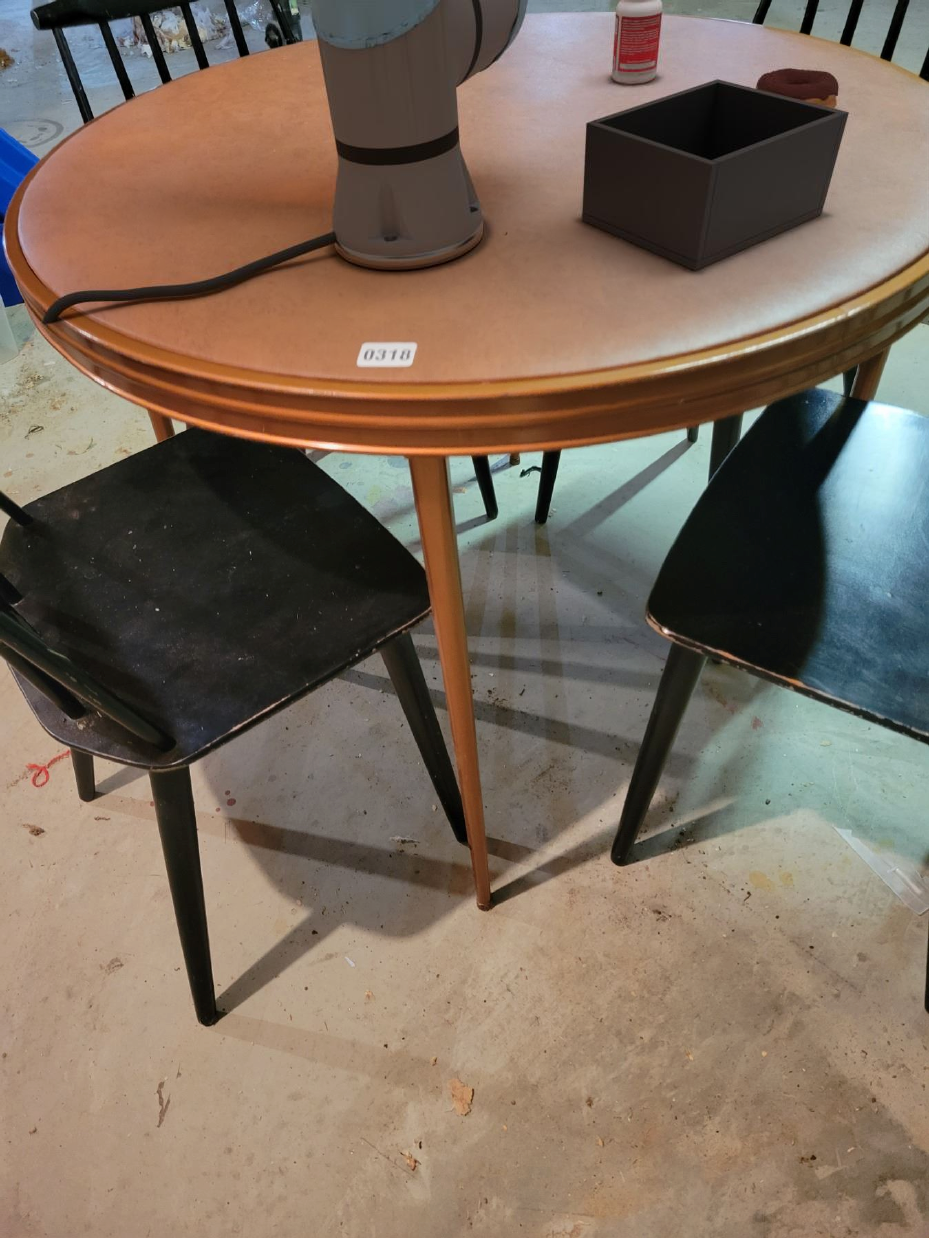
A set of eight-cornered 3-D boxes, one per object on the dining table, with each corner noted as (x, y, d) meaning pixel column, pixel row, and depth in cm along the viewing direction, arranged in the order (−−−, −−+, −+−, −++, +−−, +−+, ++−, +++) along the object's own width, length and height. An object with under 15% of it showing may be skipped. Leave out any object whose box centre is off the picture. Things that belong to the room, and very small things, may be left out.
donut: (852, 110, 95) (862, 72, 92) (799, 131, 91) (808, 91, 88) (785, 94, 101) (792, 57, 98) (733, 112, 97) (739, 75, 94)
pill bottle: (664, 79, 108) (675, -22, 100) (627, 88, 106) (635, -14, 98) (638, 69, 112) (647, -29, 103) (603, 78, 110) (608, -21, 102)
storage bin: (694, 271, 70) (711, 165, 64) (581, 220, 79) (585, 122, 72) (821, 214, 76) (849, 112, 69) (703, 173, 85) (717, 79, 78)
